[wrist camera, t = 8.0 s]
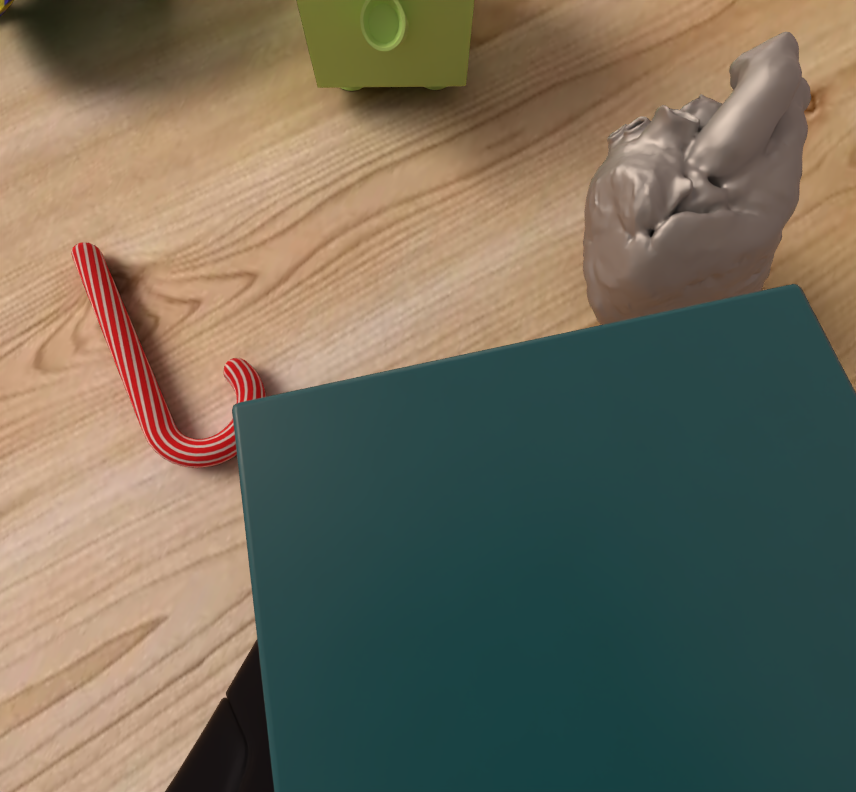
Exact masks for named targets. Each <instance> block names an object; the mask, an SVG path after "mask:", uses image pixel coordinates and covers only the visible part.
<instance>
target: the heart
mask: <svg viewBox="0 0 856 792" xmlns="http://www.w3.org/2000/svg"><path fill="white" fill-rule="evenodd" d="M729 72H730V85H731V87H732V88H733V92H732V93H731V94H730V96H729V97H728V98H727V99H726V101H725V102H724V103H723V104H722V103H719V102H717V101H715V100H713V99H711V98H707V97H705V96H704V95H702V94H700V96H699V98H697V99H695V100H692V101H691V102H690V103H688V104H686V105H685V106H683V107H682V108H681V109H680V110H678V109H670V108H668V107H667V106H665V105H662V106H660V107H658V108H657V110H656V112H655V115H654V117H653V119H652V121H650V120H649V119H648V118H647V117H638V118H637V119H635V120H634V121H633V122H631V123H630V124H629V125H627V124H624V125H623V126H621V127H620V128H619V129H618V130H616V131H615V132H613V133H611V134H610V136H609V137H608V138H607V141H608V148H609V150H608V156H607V158H606V160H605V161H604V162H603V164H602V165H601V166H600V167H599V168H598V170H597V171H596V173H595V175H594V176H593V178H592V179H591V182H590V185H589V189H588V192H587V197H586V204H585V233H584V240H583V246H584V250H583V257H584V260H583V273H584V277H585V280H586V283H587V297H588V301H589V303H590V306H591V308H592V309H593V311H594V314H595V316H596V318H597V320H598V322H600V323H601V324H602V325H604V324H608V323H613V322H618V321H623V320H627V319H632V318H637V317H641V316H646V315H651V314H655V313H660V312H665V311H669V310H674V309H679V308H683V307H688V306H693V305H697V304H702V303H707V302H711V301H716V300H721V299H725V298H730V297H735V296H739V295H744V294H749V293H753V292H758V291H761V290H762V287H763V284H764V281H765V280H766V279H767V278H768V276H769V273H770V268H771V264H772V261H773V257H774V253H775V251H776V249H777V247H778V245H779V243H780V241H781V238H782V230H783V228H784V226H785V224H786V223H787V221H788V220H789V219H790V217H791V216H792V214H793V212H794V210H795V208H796V206H797V203H798V200H799V184H800V179H801V176H802V151H803V146H804V143H805V140H806V137H807V132H808V125H807V121H806V118H805V115H804V110H806V108H807V107H808V105H809V103H810V100H811V94H810V87H809V85H808V83H807V81H806V80H805V79H804V78H803V77H802V71H801V67H800V64H799V46H798V43H797V41H796V39H795V37H794V36H793V35H792V34H791V33H790V32H783V33H781V34H779V35H777V36H775V37H773V38H771V39H769V40H767V41H765V42H764V43H762V44H760V45H758V46H756V47H754V48H753V49H751V50H749V51H747V52H745V53H743V54H741V55H740V56H739V57H738V58H737V59H736V60H735V61H734V62H733V63H732V64H731V66H730V70H729Z"/></svg>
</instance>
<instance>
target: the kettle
mask: <svg viewBox="0 0 856 792" xmlns="http://www.w3.org/2000/svg"><path fill="white" fill-rule="evenodd" d="M296 1H297V5H298V9H299V13H300V17H301V21H302V25H303V29H304V33H305V37H306V41H307V46H308V50H309V54H310V58H311V62H312V66H313V70H314V74H315V78H316V82H317V86H318V88H329V87H340V88H341V89H344V90H347V91H355V90H359V89H361V88H363V87H425V88H427V89H431V90H440V89H443V88H445V87H447V86H466V80H467V70H468V60H469V50H470V40H471V29H472V19H473V9H474V0H296Z"/></svg>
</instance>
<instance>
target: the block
mask: <svg viewBox="0 0 856 792" xmlns="http://www.w3.org/2000/svg"><path fill="white" fill-rule="evenodd" d="M232 414H233V423H234V432H235V441H236V450H237V459H238V468H239V477H240V486H241V495H242V504H243V513H244V522H245V531H246V540H247V549H248V558H249V567H250V576H251V585H252V594H253V603H254V612H255V621H256V630H257V639H258V648H259V658H260V667H261V676H262V685H263V694H264V703H265V712H266V721H267V730H268V739H269V748H270V757H271V766H272V775H273V784H274V792H856V393H855V391H854V389H853V387H852V385H851V383H850V381H849V379H848V377H847V375H846V373H845V371H844V369H843V367H842V366H841V364H840V362H839V360H838V358H837V356H836V354H835V352H834V350H833V348H832V346H831V344H830V342H829V341H828V339H827V337H826V335H825V333H824V331H823V329H822V327H821V325H820V323H819V321H818V319H817V317H816V315H815V314H814V312H813V310H812V308H811V306H810V304H809V302H808V300H807V298H806V296H805V294H804V292H803V290H802V289H801V287H799V286H798V285H796V284H792V285H786V286H781V287H777V288H772V289H767V290H763V291H758V292H753V293H749V294H744V295H739V296H735V297H730V298H725V299H721V300H716V301H711V302H707V303H702V304H697V305H693V306H688V307H683V308H679V309H674V310H669V311H665V312H660V313H655V314H651V315H646V316H641V317H637V318H632V319H627V320H623V321H618V322H613V323H608V324H604V325H599V326H594V327H590V328H585V329H580V330H576V331H571V332H566V333H562V334H557V335H552V336H548V337H543V338H538V339H534V340H529V341H524V342H520V343H515V344H510V345H506V346H501V347H496V348H492V349H487V350H482V351H478V352H473V353H468V354H464V355H459V356H454V357H450V358H445V359H440V360H436V361H431V362H426V363H422V364H417V365H412V366H408V367H403V368H398V369H394V370H389V371H384V372H380V373H375V374H370V375H366V376H361V377H356V378H352V379H347V380H342V381H337V382H333V383H328V384H323V385H319V386H314V387H309V388H305V389H300V390H295V391H291V392H286V393H281V394H277V395H272V396H267V397H263V398H258V399H253V400H249V401H244V402H240V403H237V404H235V405H234V406H233V409H232Z"/></svg>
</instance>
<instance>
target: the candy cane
mask: <svg viewBox="0 0 856 792" xmlns="http://www.w3.org/2000/svg"><path fill="white" fill-rule="evenodd" d="M72 257H73V260H74V262H75V265H76V268H77V270H78V272H79V275H80V278H81V280H82V282H83V285H84V287H85V290H86V292H87V295H88V297H89V300H90V302H91V305H92V307H93V310H94V312H95V315H96V317H97V320H98V322H99V324H100V327H101V329H102V332H103V334H104V337H105V339H106V342H107V344H108V347H109V349H110V352H111V354H112V357H113V359H114V362H115V364H116V366H117V369H118V371H119V374H120V376H121V379H122V381H123V383H124V386H125V389H126V391H127V394H128V396H129V398H130V401H131V403H132V406H133V408H134V411H135V413H136V416H137V418H138V421H139V423H140V426H141V428H142V430H143V433H144V435H145V437H146V439H147V441H148V443H149V444H150V446H151V447H152V448H153V449H154V450H155V452H157V453H158V454H159V455H160V456H161V457H163V458H164V459H166V460H168V461H170V462H172V463H174V464H177V465H180V466H185V467H192V468H200V467H209V466H214V465H217V464H220V463H223V462H225V461H227V460H229V459H231V458H233V457H234V456H236V455H237V450H236V441H235V432H234V423H233V418H232V420H231V421H230V423H229V424H228V425H227V427H226V428H224V429H223V430H222V431H221V432H219V433H218V434H216V435H214V436H212V437H209V438H206V439H192V438H189V437H187V436H185V435H183V434H182V433H181V432H180V431H179V430H178V429H177V427H176V425H175V423H174V421H173V419H172V416H171V414H170V412H169V409H168V407H167V405H166V402H165V400H164V398H163V395H162V393H161V391H160V388H159V386H158V383H157V381H156V379H155V376H154V374H153V372H152V369H151V367H150V365H149V362H148V360H147V358H146V355H145V353H144V351H143V348H142V346H141V344H140V341H139V339H138V337H137V334H136V332H135V330H134V327H133V325H132V323H131V320H130V318H129V315H128V313H127V311H126V309H125V306H124V304H123V301H122V299H121V297H120V294H119V292H118V290H117V287H116V285H115V283H114V280H113V278H112V276H111V273H110V271H109V269H108V266H107V264H106V262H105V260H104V257H103V255H102V253H101V251H100V250H99V248H98V247H96V246H95V245H93V244H90V243H85V242H83V243H79V244H77V245H75V246H74V247H73V249H72ZM224 377H225V379H226V380H227V381H228V382H229V383H230V384H231V386H232V387H233V388H234V391H235V393H236V397H237V403H240V402H244V401H249V400H253V399H258V398H263V397H266V394H265V389H264V386H263V383H262V381H261V379H260V377H259V375H258V374H257V372H256V371H255V370H254V368H253V367H252V366H251V365H250V364H249V363H248V362H246V361H245V360H243V359H240V358H233V359H231V360H229V361H228V362H227V363H226V364H225V366H224Z"/></svg>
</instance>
